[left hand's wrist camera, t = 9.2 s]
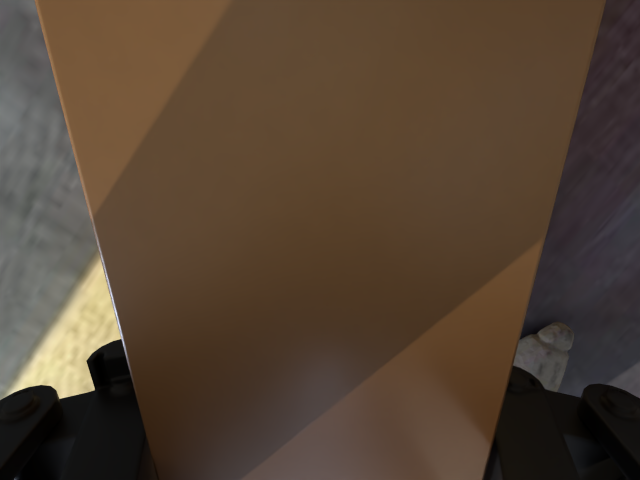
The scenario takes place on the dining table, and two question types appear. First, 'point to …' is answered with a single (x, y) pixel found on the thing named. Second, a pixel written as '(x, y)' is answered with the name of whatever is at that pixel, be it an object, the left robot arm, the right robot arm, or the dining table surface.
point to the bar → (320, 218)
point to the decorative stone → (546, 354)
